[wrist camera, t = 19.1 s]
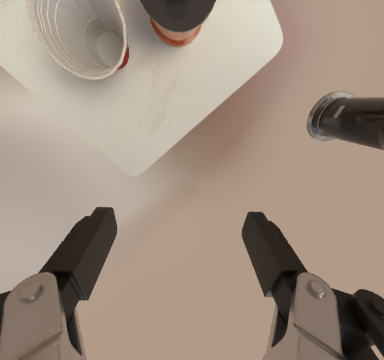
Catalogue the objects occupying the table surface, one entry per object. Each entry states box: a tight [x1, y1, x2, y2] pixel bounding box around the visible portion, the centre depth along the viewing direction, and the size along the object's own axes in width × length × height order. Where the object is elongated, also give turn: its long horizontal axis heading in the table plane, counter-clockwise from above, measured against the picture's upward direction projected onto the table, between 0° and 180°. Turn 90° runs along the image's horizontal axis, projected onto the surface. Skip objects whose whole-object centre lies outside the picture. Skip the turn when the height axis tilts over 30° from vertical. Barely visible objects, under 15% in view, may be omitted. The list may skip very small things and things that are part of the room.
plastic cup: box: [26, 0, 129, 80], centre depth 24 cm, size 11×11×12 cm
